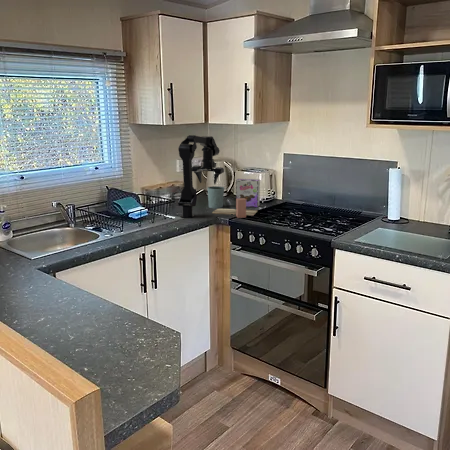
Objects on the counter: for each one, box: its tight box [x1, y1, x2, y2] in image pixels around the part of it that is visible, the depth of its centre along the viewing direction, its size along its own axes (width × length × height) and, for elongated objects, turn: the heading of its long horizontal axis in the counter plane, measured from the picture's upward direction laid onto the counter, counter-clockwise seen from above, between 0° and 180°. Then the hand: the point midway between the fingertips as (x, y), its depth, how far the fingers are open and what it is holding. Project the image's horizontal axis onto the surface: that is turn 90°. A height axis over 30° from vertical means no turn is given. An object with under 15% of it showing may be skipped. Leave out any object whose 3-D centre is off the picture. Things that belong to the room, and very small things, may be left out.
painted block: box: [235, 197, 247, 219], centre depth 262 cm, size 4×4×10 cm
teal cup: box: [207, 185, 225, 209], centre depth 289 cm, size 10×10×12 cm
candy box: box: [235, 178, 261, 208], centre depth 291 cm, size 14×6×16 cm, turn 73°
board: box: [211, 208, 258, 217], centre depth 274 cm, size 12×24×1 cm, turn 75°
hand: (207, 183), depth 285 cm, fingers open, 9 cm apart
